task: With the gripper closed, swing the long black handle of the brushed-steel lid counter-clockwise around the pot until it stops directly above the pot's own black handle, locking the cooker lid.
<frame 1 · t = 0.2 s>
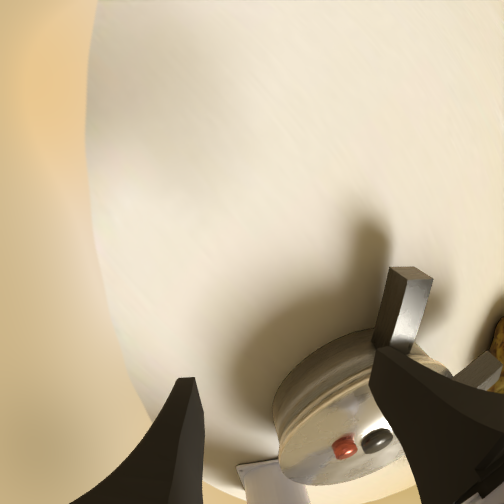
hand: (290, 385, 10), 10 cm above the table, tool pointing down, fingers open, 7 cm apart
potato: (489, 348, 28), on the table
pot: (351, 394, 25), on the table
lid: (404, 429, 18), point 7 cm above the table, hinge at -65.0°
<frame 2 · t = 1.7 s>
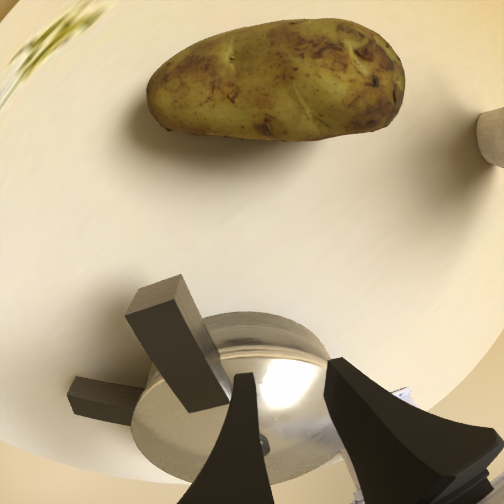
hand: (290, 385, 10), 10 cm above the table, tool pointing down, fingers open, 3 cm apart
house plant: (490, 126, 19), on the table
potato: (262, 91, 16), on the table
pot: (241, 389, 23), on the table
lid: (237, 432, 16), point 7 cm above the table, hinge at -65.0°
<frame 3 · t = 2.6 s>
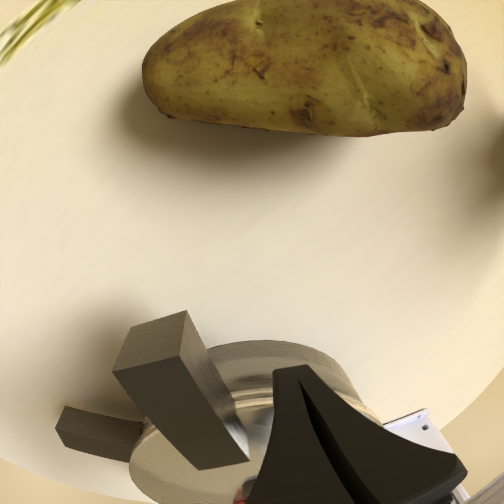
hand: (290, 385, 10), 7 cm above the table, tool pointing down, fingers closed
potato: (286, 76, 13), on the table
pot: (252, 421, 19), on the table
lid: (252, 478, 12), point 7 cm above the table, hinge at -65.0°
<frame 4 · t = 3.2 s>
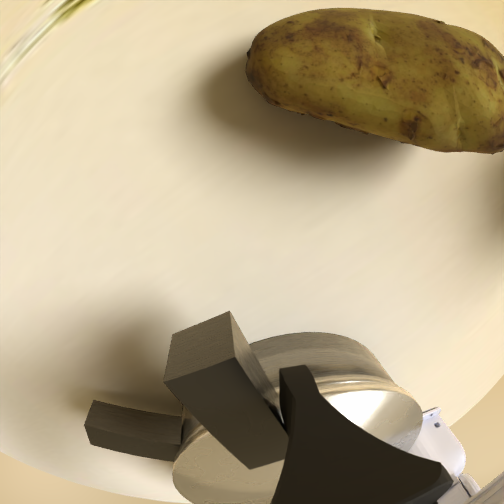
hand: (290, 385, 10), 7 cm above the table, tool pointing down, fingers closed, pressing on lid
potato: (361, 84, 13), on the table
pot: (287, 414, 20), on the table
lid: (297, 471, 13), point 7 cm above the table, hinge at -55.4°, touching gripper
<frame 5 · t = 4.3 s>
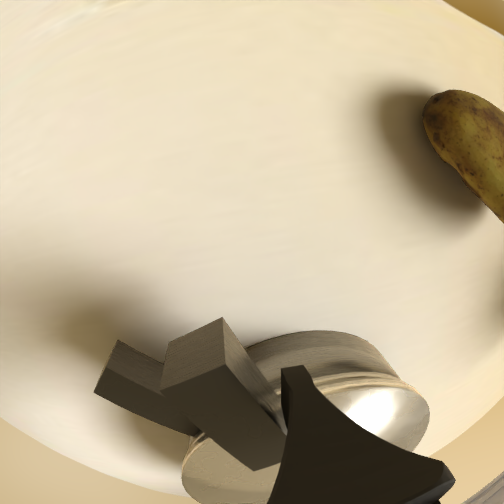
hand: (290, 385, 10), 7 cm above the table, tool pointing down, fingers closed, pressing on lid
potato: (469, 160, 15), on the table
pot: (295, 413, 20), on the table
lid: (304, 470, 13), point 7 cm above the table, hinge at -27.8°, touching gripper
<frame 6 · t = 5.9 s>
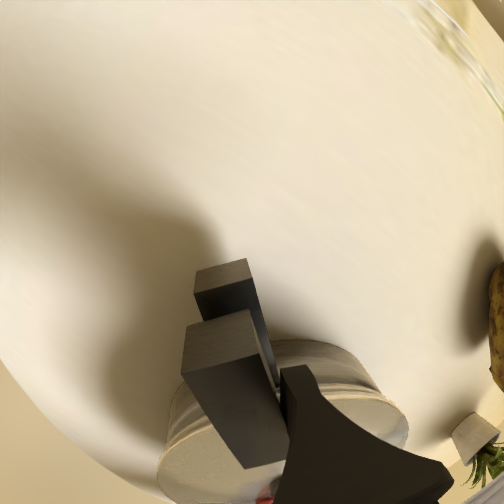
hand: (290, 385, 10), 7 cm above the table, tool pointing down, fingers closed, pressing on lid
house plant: (469, 420, 28), on the table
potato: (490, 311, 21), on the table
pot: (274, 420, 20), on the table
lid: (284, 475, 13), point 7 cm above the table, hinge at 1.9°, touching gripper
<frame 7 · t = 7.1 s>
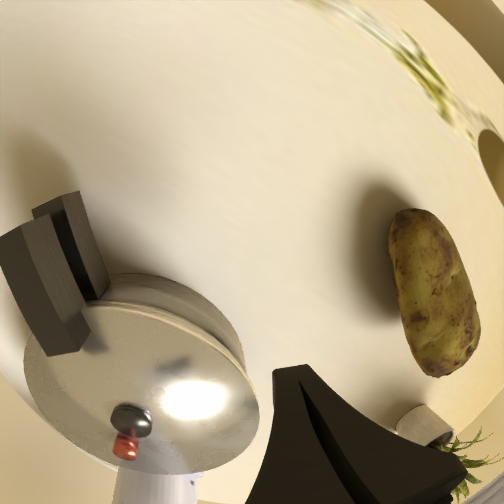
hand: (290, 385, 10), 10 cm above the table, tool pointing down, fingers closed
house plant: (419, 414, 29), on the table
potato: (409, 276, 22), on the table
pot: (146, 363, 21), on the table
lid: (110, 398, 14), point 7 cm above the table, hinge at 1.7°
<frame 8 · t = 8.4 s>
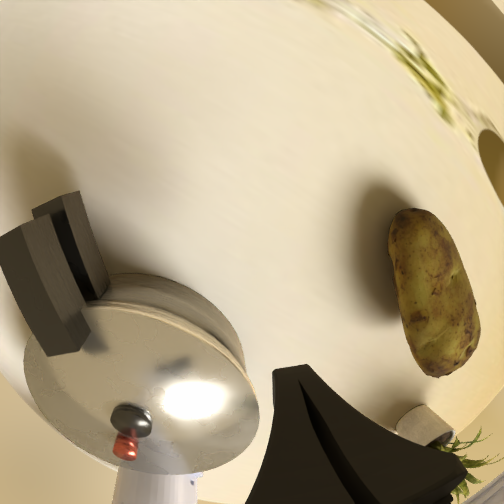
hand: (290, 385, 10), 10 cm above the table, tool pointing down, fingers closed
house plant: (419, 414, 29), on the table
potato: (409, 276, 22), on the table
pot: (146, 363, 21), on the table
lid: (110, 398, 14), point 7 cm above the table, hinge at 1.7°
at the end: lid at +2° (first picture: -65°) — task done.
